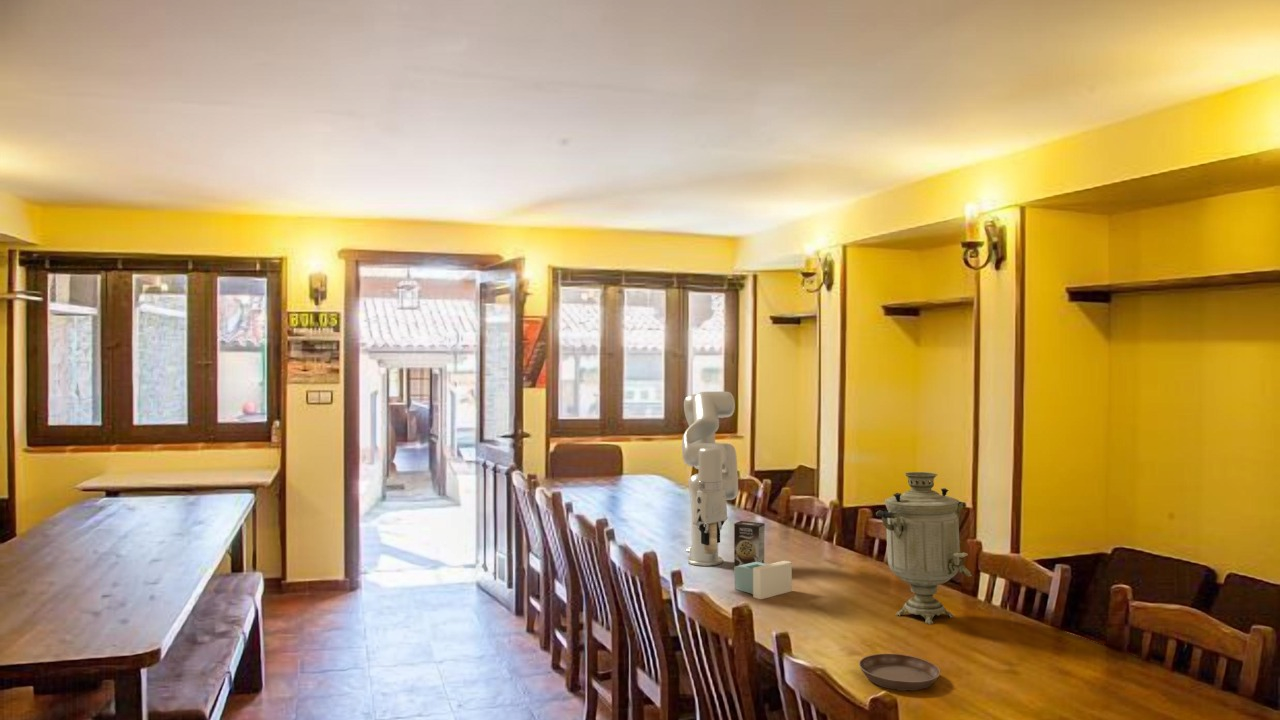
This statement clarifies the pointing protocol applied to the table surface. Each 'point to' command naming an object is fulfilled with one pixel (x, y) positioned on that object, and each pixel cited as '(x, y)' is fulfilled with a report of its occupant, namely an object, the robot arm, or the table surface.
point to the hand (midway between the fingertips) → (710, 542)
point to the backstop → (772, 579)
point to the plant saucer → (899, 671)
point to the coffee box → (748, 542)
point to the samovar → (923, 542)
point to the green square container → (745, 576)
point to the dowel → (711, 539)
